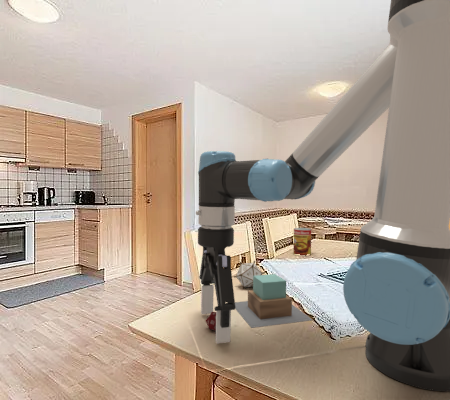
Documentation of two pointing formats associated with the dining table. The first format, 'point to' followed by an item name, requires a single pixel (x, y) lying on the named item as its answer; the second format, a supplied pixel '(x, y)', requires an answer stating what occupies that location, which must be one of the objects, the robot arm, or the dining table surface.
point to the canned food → (302, 241)
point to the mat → (256, 322)
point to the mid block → (269, 286)
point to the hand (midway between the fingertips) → (214, 326)
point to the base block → (269, 306)
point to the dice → (211, 321)
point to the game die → (247, 274)
